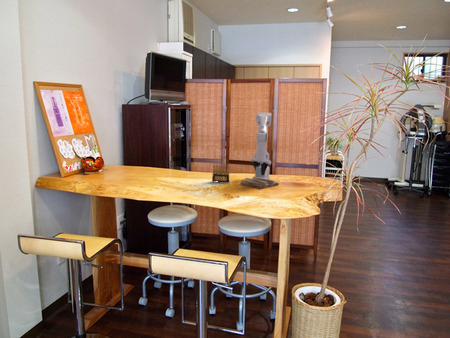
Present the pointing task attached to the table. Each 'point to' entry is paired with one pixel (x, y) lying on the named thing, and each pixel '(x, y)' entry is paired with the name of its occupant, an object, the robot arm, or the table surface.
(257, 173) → the tab block
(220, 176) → the ammunition clip
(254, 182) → the notched board
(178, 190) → the table surface
